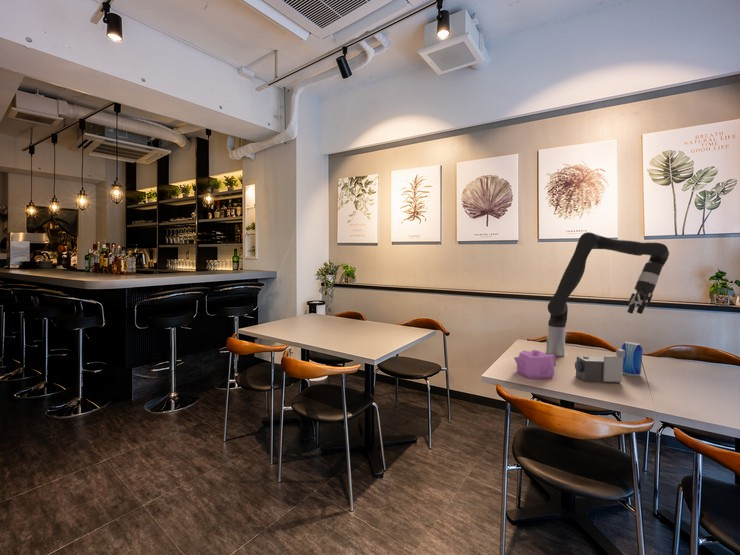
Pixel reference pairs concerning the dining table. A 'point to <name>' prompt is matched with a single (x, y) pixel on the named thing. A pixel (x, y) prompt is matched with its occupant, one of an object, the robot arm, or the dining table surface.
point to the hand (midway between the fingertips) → (634, 313)
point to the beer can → (632, 358)
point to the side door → (613, 367)
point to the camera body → (590, 369)
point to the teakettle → (535, 364)
